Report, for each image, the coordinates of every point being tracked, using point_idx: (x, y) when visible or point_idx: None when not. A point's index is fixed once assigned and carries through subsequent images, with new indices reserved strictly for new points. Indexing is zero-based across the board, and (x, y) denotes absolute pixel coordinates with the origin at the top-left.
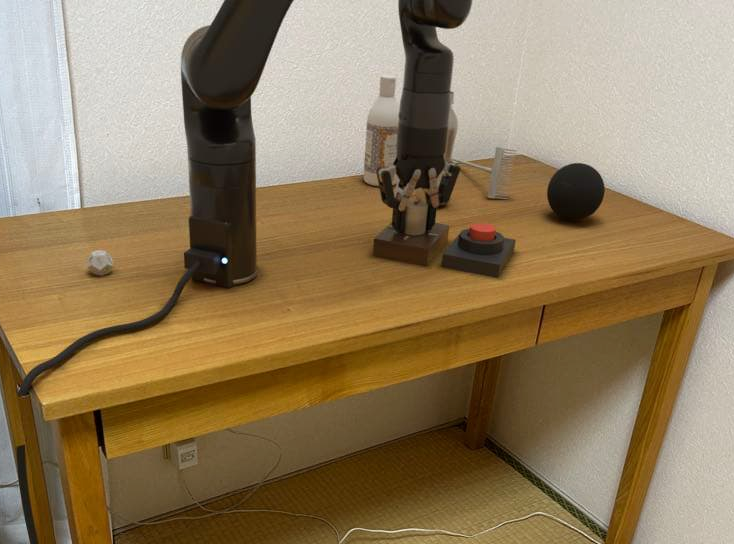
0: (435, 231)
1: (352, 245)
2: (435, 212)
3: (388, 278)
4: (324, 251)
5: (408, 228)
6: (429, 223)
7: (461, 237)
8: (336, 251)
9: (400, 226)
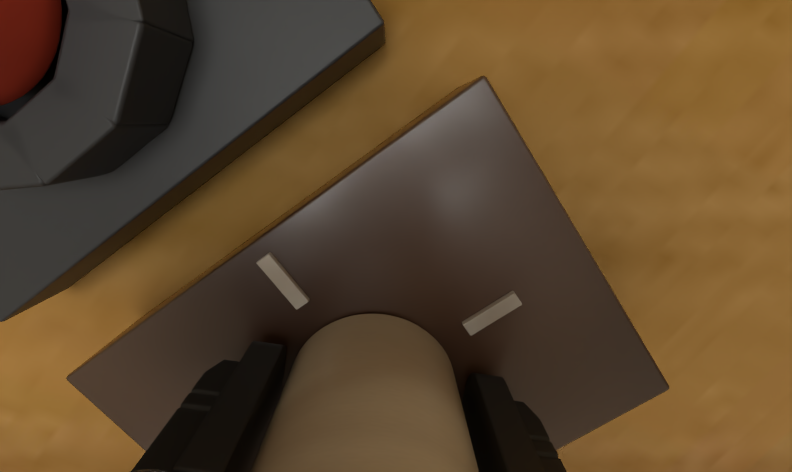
0: (225, 328)
1: (589, 462)
2: (164, 439)
3: (757, 55)
4: (740, 456)
5: (450, 378)
6: (264, 370)
7: (141, 45)
8: (698, 438)
9: (513, 408)
